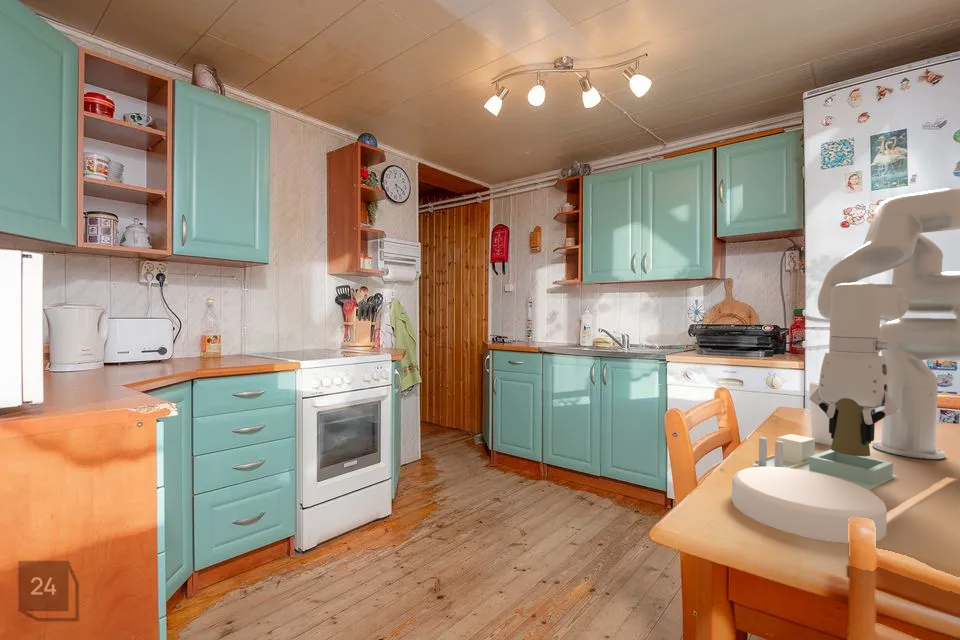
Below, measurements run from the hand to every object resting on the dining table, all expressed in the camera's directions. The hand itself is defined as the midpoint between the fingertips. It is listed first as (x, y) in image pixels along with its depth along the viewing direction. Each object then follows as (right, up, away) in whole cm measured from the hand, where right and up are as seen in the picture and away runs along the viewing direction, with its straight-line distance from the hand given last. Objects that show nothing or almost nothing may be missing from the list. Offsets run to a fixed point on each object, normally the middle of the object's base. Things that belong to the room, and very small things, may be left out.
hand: (850, 439), depth 90 cm
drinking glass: (+14, -8, +25) cm, 30 cm away
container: (-21, -8, -16) cm, 27 cm away
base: (-4, -7, +1) cm, 9 cm away
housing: (-5, -6, +8) cm, 11 cm away
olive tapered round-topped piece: (0, -2, 0) cm, 2 cm away
